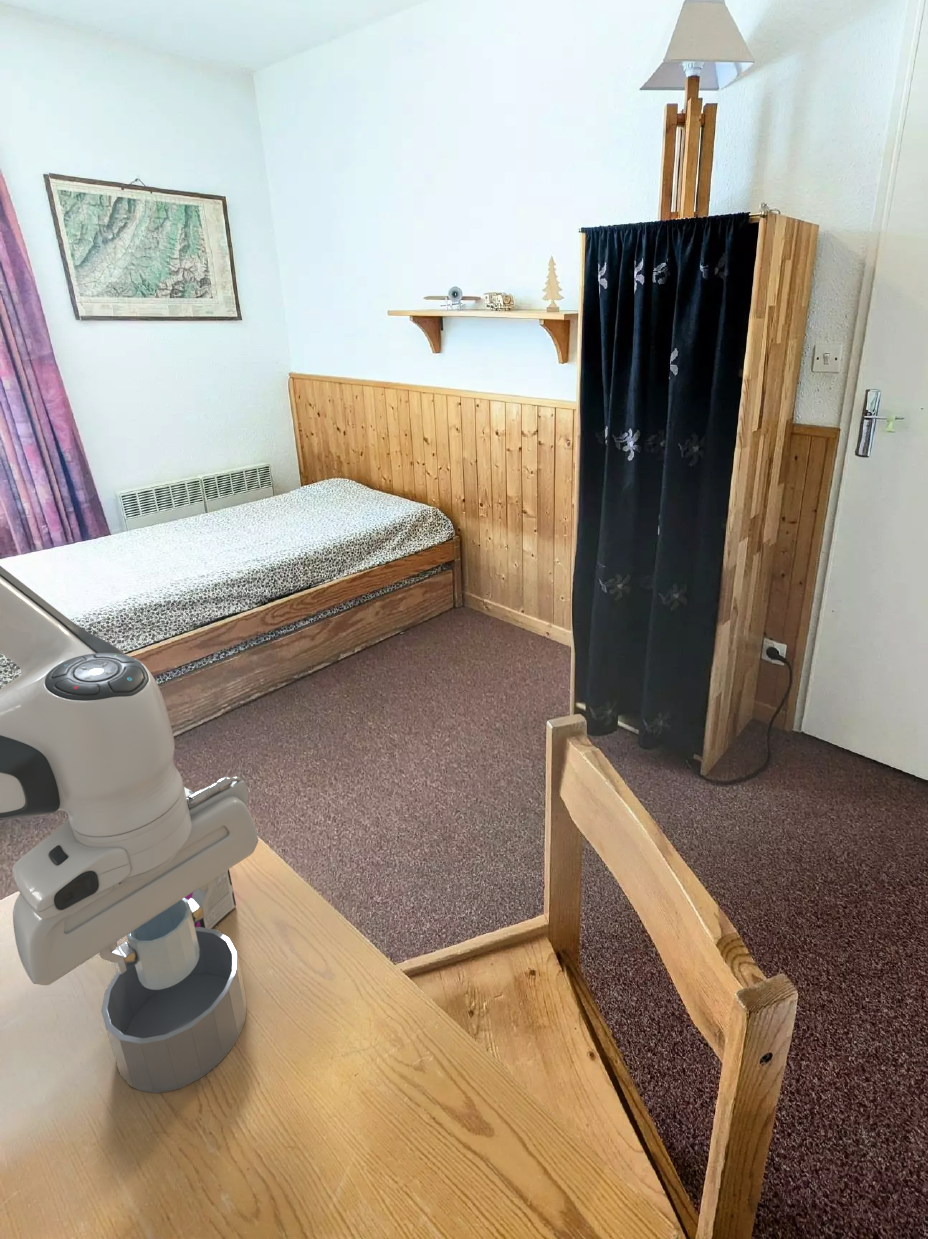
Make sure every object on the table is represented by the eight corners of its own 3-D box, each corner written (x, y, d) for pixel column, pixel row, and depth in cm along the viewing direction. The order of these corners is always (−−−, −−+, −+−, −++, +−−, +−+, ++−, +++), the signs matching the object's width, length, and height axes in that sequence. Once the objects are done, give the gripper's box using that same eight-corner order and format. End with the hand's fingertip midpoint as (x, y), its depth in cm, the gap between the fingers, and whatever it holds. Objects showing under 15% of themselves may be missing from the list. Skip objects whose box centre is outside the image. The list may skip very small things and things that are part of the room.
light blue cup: (128, 967, 66) (115, 921, 64) (184, 929, 70) (174, 885, 68) (153, 1002, 62) (140, 955, 60) (210, 960, 66) (200, 914, 64)
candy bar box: (142, 902, 84) (115, 795, 78) (178, 873, 88) (154, 770, 82) (204, 939, 79) (180, 828, 73) (238, 907, 83) (218, 799, 77)
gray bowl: (96, 1037, 68) (81, 988, 66) (211, 953, 77) (202, 907, 75) (149, 1124, 61) (134, 1072, 59) (269, 1020, 70) (261, 972, 68)
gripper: (227, 755, 69) (245, 859, 74) (-12, 878, 55) (31, 998, 60) (260, 781, 66) (277, 889, 71) (13, 921, 51) (57, 1045, 56)
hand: (163, 940), depth 65 cm, fingers closed on light blue cup, 5 cm apart
